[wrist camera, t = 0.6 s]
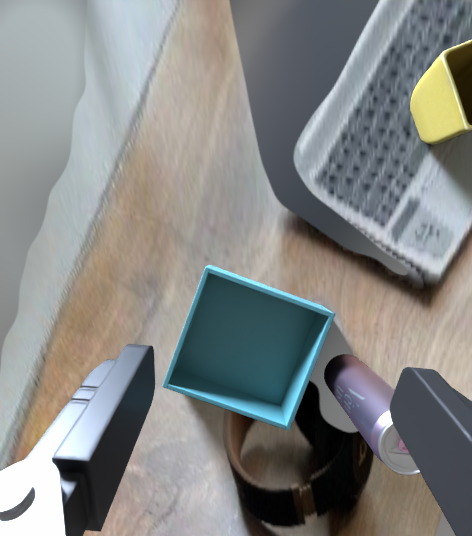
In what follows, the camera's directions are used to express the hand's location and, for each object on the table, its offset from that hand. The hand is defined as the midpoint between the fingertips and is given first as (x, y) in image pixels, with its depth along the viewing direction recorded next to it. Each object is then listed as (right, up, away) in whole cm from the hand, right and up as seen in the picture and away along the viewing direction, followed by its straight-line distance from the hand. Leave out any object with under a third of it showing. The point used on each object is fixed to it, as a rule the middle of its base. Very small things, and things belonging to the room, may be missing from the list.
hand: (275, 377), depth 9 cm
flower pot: (+26, +24, +29) cm, 45 cm away
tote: (0, -6, +30) cm, 31 cm away
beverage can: (+14, -12, +31) cm, 36 cm away
